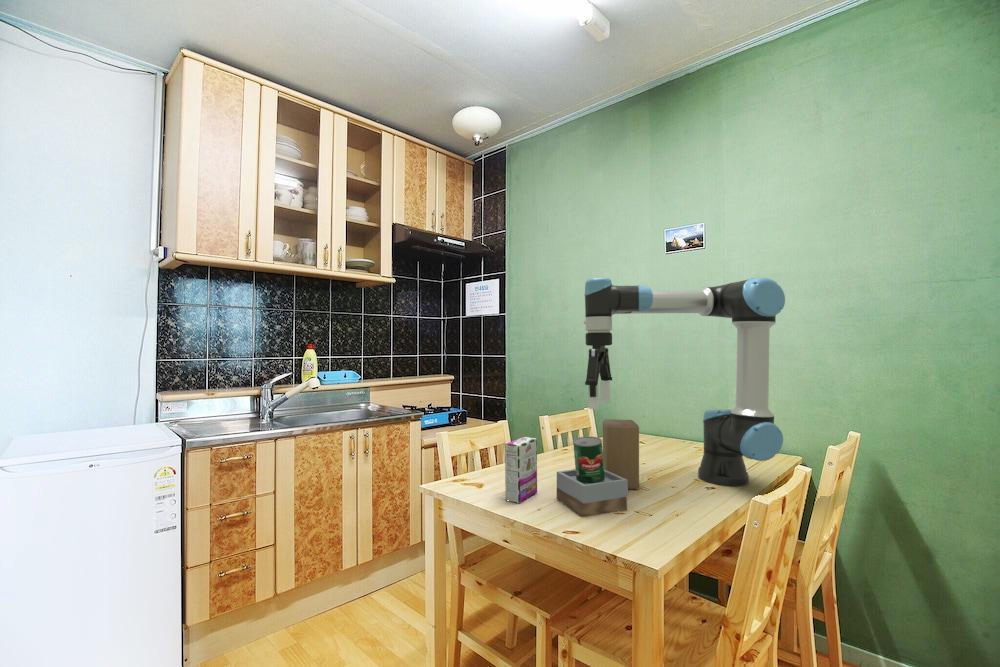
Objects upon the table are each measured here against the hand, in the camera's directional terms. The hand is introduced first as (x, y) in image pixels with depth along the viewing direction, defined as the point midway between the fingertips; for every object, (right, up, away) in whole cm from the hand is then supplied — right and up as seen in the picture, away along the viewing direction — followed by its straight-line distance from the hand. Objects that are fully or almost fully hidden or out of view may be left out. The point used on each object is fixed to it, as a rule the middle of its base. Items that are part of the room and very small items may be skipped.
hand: (599, 405), depth 131 cm
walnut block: (-4, -27, -4) cm, 28 cm away
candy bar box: (-23, -27, +2) cm, 35 cm away
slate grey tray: (-3, -23, -4) cm, 24 cm away
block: (+9, -28, +13) cm, 32 cm away
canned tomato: (-4, -20, -4) cm, 21 cm away
